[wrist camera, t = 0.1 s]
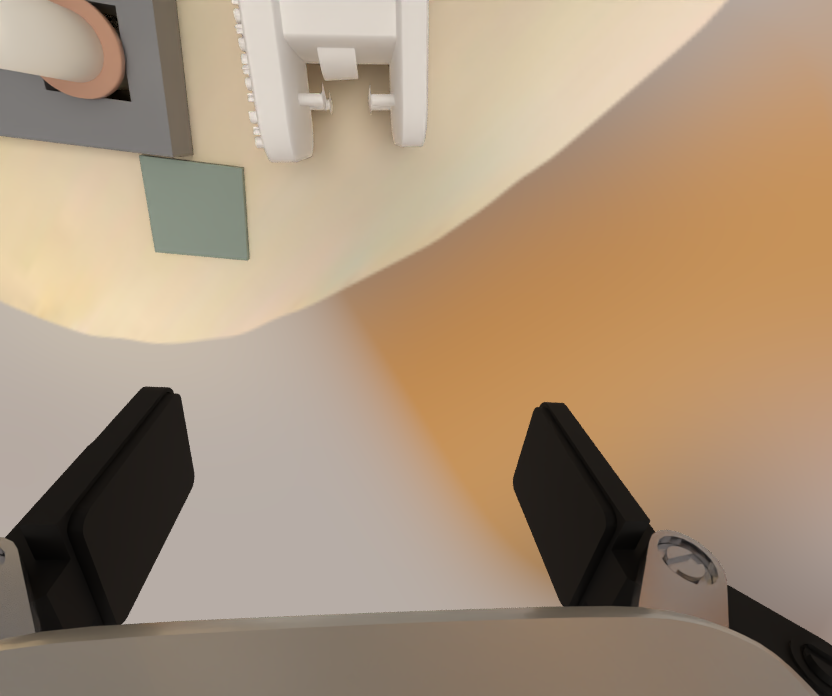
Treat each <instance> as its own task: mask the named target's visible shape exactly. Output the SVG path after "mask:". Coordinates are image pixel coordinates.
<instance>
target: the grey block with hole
mask: <svg viewBox="0 0 832 696" xmlns="http://www.w3.org/2000/svg"><path fill="white" fill-rule="evenodd" d="M86 1H88V2H89V3H91V4H92V5H93V6H95V7H96V8H97V9H98V10H99V11H100V12H101V13H102V14H107V15H113V16H117V19H118V25H119V31H120V37H121V43H122V47H123V50H124V55H125V67H126V73H127V79H128V85H129V91H130V97H131V102H129V101H122V100H115V99H107V98H101V99H84V98H78V97H73V96H70V95H67V94H65V93H63V92H61V91H59V90H57V89H56V88H54V87H53V86H51V85H50V84H49V83H47V82H46V81H45V80H44V79H43V78H42V77H41V76H39V75H33V74H28V73H22V72H17V71H11V70H6V69H0V136H6V137H14V138H22V139H30V140H38V141H47V142H55V143H63V144H71V145H79V146H87V147H95V148H103V149H111V150H119V151H127V152H135V153H143V154H151V155H159V156H167V157H179V156H188V155H193V148H192V139H191V130H190V121H189V112H188V104H187V95H186V86H185V77H184V68H183V59H182V50H181V41H180V32H179V24H178V15H177V6H176V0H86Z"/></svg>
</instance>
